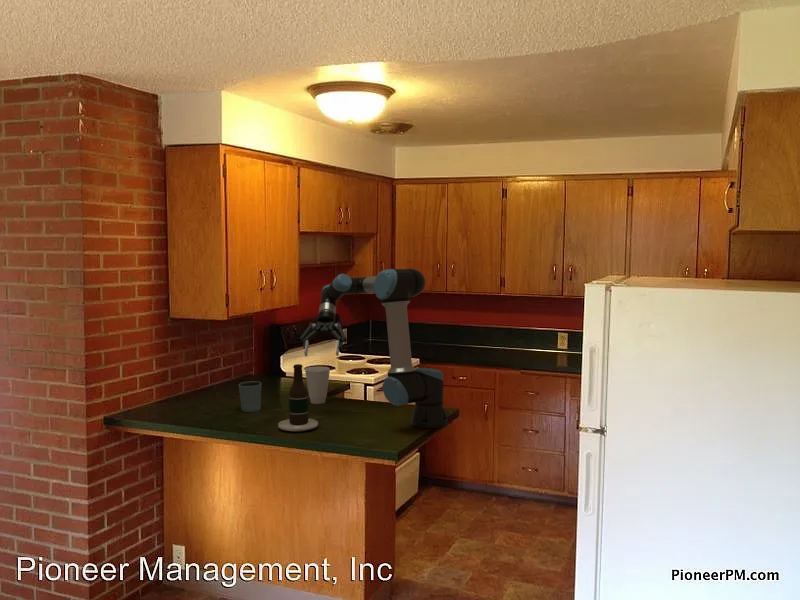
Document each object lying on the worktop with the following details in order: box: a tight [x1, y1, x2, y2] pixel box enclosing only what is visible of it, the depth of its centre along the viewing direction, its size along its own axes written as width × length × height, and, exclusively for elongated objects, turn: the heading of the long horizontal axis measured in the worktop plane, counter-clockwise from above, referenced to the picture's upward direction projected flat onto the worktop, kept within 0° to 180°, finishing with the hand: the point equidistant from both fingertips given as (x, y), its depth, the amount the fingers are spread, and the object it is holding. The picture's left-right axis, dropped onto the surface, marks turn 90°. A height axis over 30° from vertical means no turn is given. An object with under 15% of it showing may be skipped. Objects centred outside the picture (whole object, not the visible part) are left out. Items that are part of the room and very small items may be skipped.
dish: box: [277, 418, 319, 433], centre depth 280 cm, size 16×16×2 cm
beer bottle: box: [288, 363, 309, 425], centre depth 279 cm, size 8×8×24 cm
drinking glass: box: [238, 380, 262, 413], centre depth 311 cm, size 10×10×12 cm
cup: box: [304, 366, 331, 405], centre depth 324 cm, size 12×12×16 cm
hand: (321, 354), depth 294 cm, fingers open, 13 cm apart
